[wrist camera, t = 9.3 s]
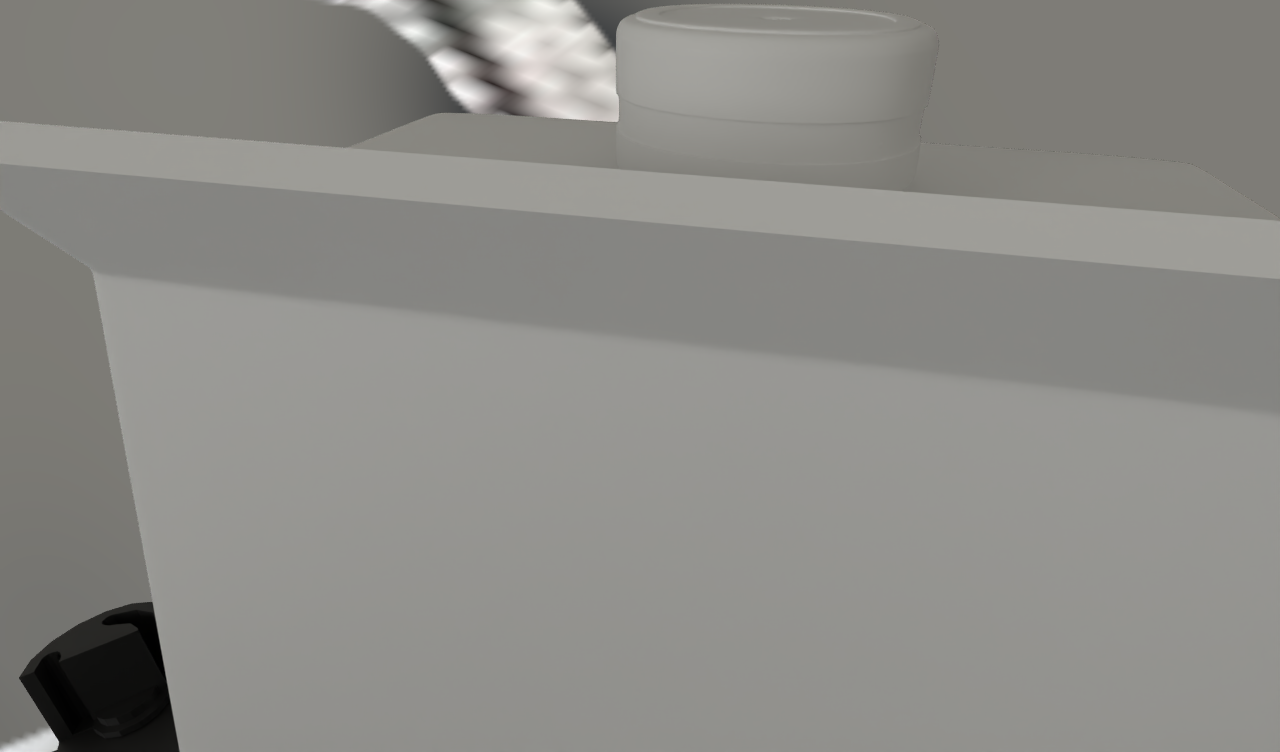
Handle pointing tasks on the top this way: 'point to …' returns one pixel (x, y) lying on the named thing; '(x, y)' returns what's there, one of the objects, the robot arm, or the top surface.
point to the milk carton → (690, 418)
